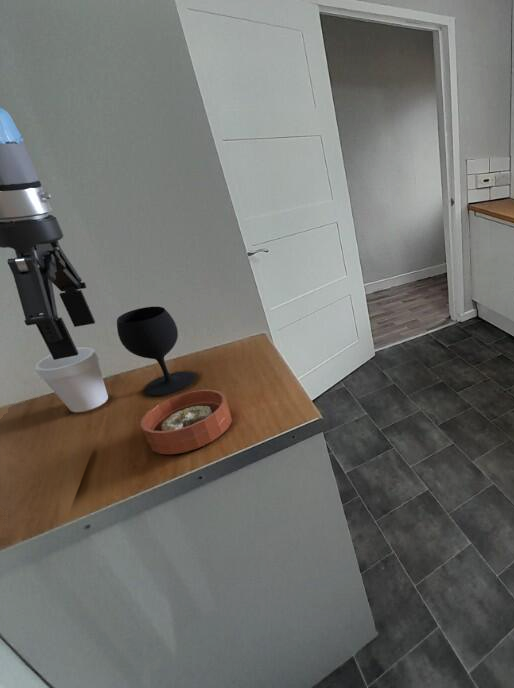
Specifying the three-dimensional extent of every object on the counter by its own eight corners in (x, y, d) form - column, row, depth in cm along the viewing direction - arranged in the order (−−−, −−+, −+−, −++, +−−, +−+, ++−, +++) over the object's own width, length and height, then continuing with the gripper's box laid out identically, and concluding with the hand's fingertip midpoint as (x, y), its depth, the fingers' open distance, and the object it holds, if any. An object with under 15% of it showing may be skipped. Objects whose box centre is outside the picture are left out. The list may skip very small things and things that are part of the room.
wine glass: (193, 368, 110) (168, 301, 102) (197, 386, 103) (170, 316, 94) (144, 382, 104) (112, 312, 96) (144, 403, 97) (110, 329, 88)
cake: (152, 440, 86) (142, 419, 84) (202, 412, 94) (194, 392, 92) (180, 452, 82) (170, 431, 80) (229, 422, 90) (221, 402, 88)
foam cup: (59, 424, 90) (30, 375, 84) (64, 403, 96) (38, 356, 91) (116, 406, 95) (93, 360, 90) (118, 387, 102) (96, 343, 96)
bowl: (147, 466, 79) (136, 442, 77) (154, 425, 90) (145, 403, 87) (233, 438, 87) (226, 415, 84) (230, 403, 97) (223, 382, 95)
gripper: (27, 231, 55) (90, 365, 63) (72, 202, 73) (116, 309, 82) (-60, 238, 51) (20, 380, 59) (11, 206, 69) (64, 317, 78)
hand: (76, 339), depth 71 cm, fingers open, 13 cm apart
